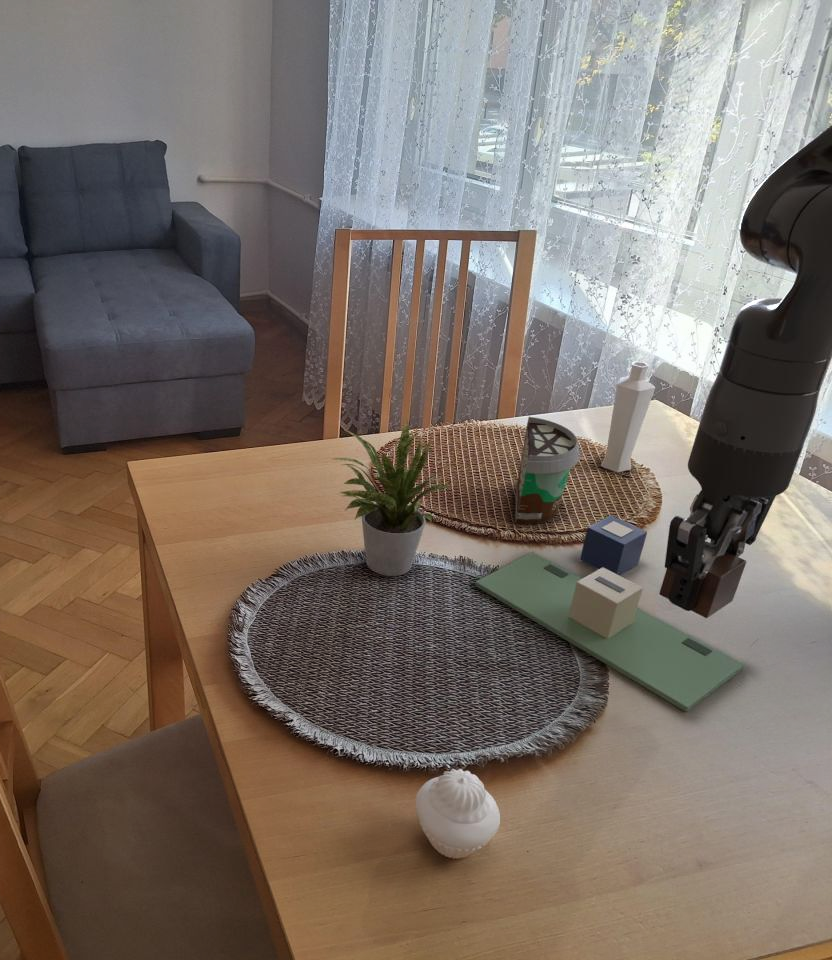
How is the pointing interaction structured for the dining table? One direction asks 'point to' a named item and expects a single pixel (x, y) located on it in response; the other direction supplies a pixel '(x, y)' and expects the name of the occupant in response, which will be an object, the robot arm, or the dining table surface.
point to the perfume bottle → (627, 417)
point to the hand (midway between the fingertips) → (696, 594)
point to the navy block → (613, 545)
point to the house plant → (391, 507)
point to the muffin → (457, 813)
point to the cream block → (605, 602)
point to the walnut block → (713, 584)
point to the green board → (632, 651)
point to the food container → (544, 470)
